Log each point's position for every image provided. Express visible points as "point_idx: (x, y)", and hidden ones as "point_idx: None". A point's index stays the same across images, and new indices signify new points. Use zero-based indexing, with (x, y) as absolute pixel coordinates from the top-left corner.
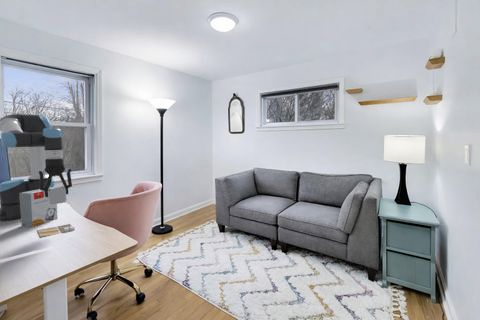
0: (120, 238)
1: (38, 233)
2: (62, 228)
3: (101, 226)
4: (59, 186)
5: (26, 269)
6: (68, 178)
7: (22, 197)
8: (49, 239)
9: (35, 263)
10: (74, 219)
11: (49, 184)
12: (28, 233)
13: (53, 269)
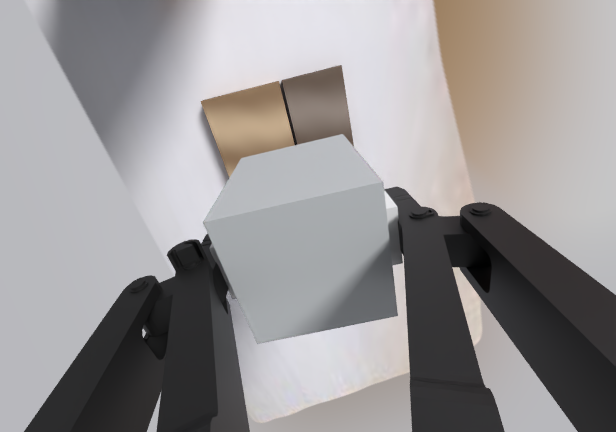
0: (465, 307)
1: (219, 150)
2: (310, 132)
3: (459, 162)
4: (344, 207)
5: (259, 366)
6: (542, 378)
7: None
8: None
9: (270, 350)
10: None
11: (235, 362)
12: (162, 78)
13: (309, 383)
